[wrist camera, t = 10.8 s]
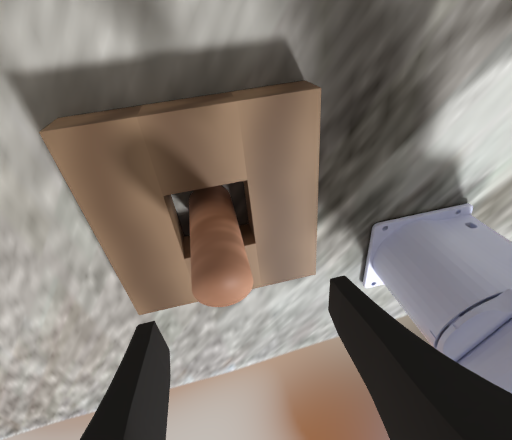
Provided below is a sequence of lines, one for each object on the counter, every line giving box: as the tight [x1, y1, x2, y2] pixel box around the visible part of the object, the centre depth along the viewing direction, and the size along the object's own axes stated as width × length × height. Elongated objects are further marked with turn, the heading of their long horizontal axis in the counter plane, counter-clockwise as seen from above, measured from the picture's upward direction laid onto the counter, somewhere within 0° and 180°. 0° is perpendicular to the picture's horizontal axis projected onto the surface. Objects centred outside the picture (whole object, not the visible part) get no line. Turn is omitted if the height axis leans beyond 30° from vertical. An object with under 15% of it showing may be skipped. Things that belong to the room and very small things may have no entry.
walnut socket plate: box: [39, 80, 321, 315], centre depth 19 cm, size 14×14×2 cm
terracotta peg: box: [189, 185, 253, 307], centre depth 17 cm, size 3×3×8 cm
